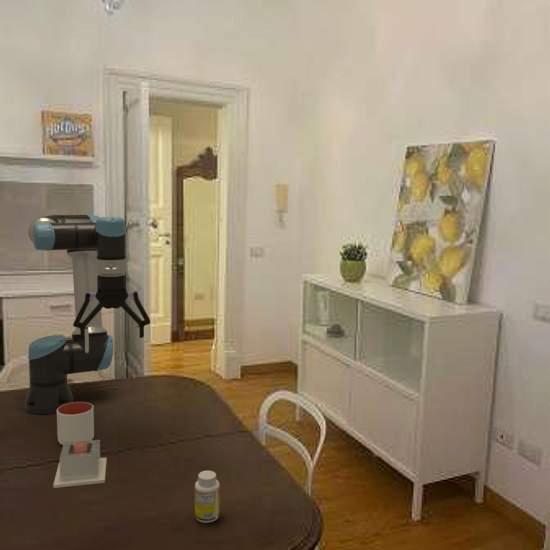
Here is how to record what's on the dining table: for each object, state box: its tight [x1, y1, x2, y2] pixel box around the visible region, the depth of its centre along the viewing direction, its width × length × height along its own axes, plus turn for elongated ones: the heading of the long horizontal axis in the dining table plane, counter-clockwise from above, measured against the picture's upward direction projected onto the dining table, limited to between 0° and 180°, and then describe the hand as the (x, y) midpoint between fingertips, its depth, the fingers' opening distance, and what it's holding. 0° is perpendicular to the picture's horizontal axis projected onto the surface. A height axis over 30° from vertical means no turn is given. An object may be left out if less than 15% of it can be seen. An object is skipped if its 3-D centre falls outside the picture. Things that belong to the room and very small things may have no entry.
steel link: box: [59, 439, 101, 481], centre depth 141 cm, size 9×9×6 cm
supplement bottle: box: [194, 470, 221, 524], centre depth 124 cm, size 6×6×10 cm
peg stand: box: [53, 441, 107, 489], centre depth 141 cm, size 12×12×8 cm
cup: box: [56, 401, 95, 446], centre depth 159 cm, size 10×10×10 cm
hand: (113, 350), depth 152 cm, fingers open, 13 cm apart
